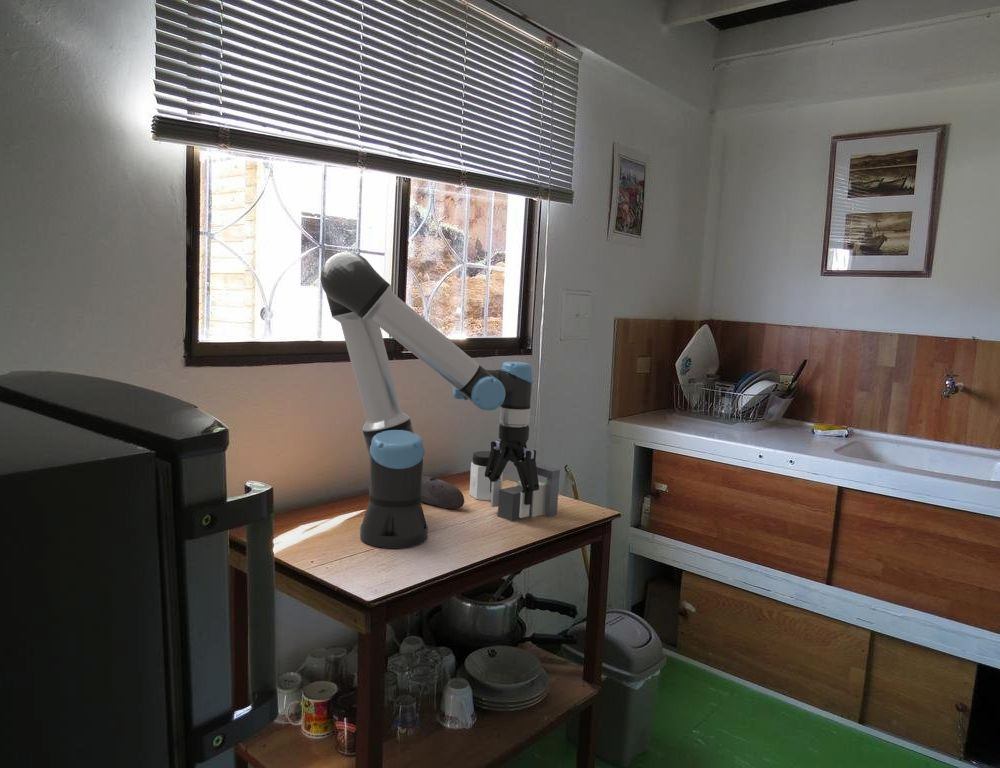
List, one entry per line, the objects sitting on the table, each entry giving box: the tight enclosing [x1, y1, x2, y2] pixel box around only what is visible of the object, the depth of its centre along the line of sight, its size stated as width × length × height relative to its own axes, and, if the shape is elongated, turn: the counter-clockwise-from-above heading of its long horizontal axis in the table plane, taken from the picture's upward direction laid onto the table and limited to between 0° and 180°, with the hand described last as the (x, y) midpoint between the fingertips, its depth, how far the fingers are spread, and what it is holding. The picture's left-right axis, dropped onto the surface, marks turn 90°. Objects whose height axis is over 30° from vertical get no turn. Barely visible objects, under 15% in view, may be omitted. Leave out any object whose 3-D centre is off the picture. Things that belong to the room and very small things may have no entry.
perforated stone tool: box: [421, 475, 465, 510], centre depth 185 cm, size 15×5×7 cm, turn 55°
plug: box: [497, 480, 547, 522], centre depth 182 cm, size 14×6×8 cm, turn 134°
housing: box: [536, 462, 561, 518], centre depth 185 cm, size 3×11×12 cm, turn 44°
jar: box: [469, 450, 504, 501], centre depth 196 cm, size 9×8×12 cm
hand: (509, 511), depth 179 cm, fingers open, 10 cm apart
